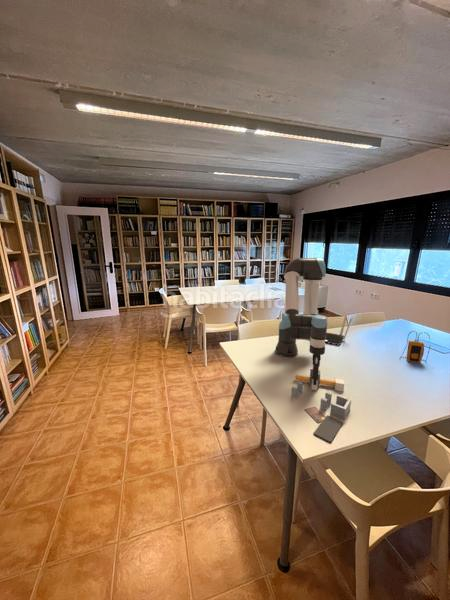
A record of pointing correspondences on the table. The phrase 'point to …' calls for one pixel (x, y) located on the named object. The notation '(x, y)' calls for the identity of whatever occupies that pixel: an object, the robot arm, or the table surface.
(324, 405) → the clip
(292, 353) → the robot arm
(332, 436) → the smartphone
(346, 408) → the end holder
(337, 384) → the orange rod with blocks
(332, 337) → the wireless router
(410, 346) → the multimeter
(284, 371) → the table surface
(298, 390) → the clip
